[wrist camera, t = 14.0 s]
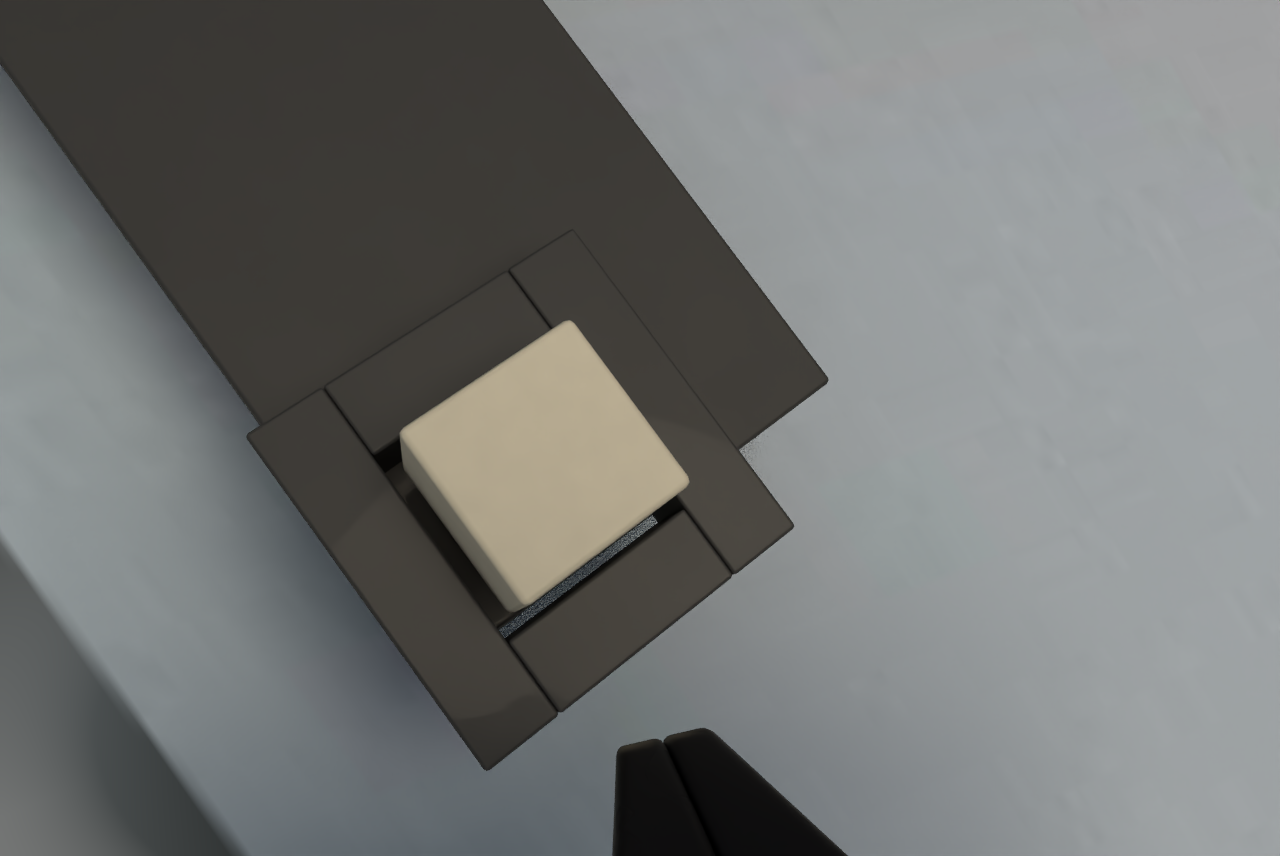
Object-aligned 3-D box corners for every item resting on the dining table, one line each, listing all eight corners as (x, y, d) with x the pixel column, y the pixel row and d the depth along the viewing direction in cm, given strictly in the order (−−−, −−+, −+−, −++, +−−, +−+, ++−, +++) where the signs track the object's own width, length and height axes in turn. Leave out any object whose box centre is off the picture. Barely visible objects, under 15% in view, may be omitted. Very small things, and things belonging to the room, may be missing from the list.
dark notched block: (795, 483, 22) (929, 420, 16) (467, 738, 19) (486, 773, 14) (259, -234, 23) (203, -535, 17) (-115, -74, 20) (-326, -360, 15)
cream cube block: (655, 507, 15) (694, 481, 13) (509, 616, 14) (525, 608, 12) (548, 364, 15) (570, 313, 13) (399, 465, 15) (395, 430, 12)
